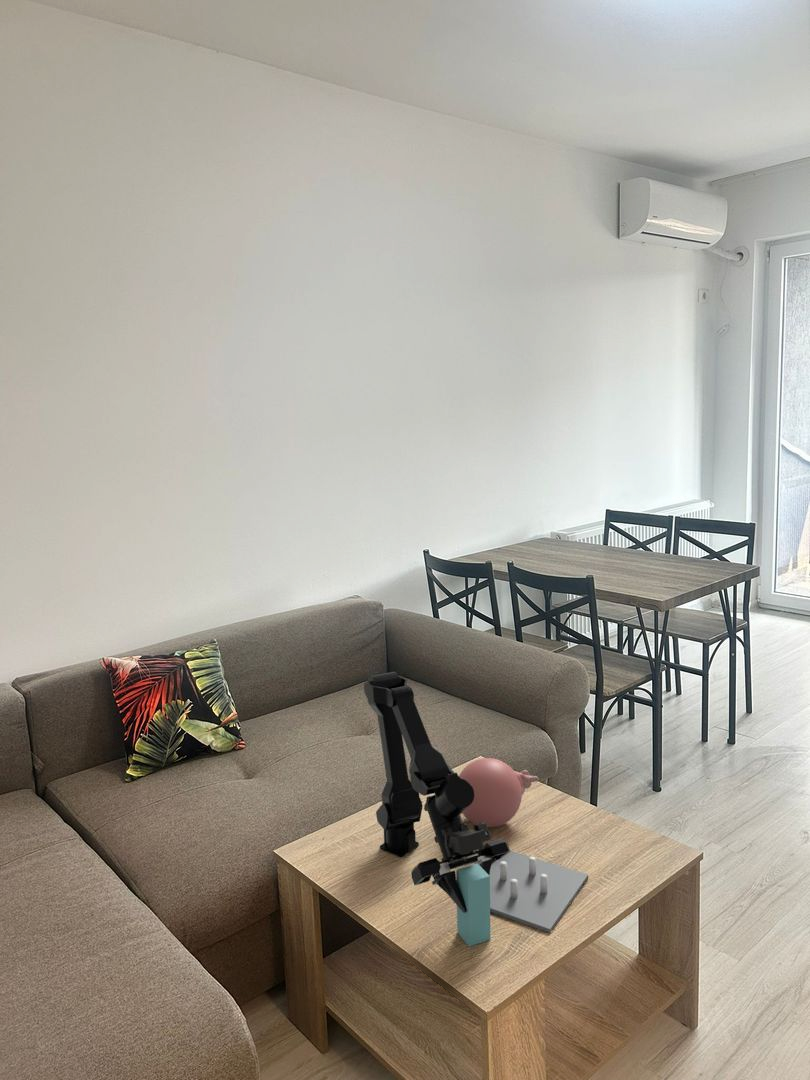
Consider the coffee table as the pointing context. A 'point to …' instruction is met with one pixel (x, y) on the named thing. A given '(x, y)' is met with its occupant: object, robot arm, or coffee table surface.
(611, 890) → the coffee table surface
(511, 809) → the balloon
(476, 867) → the teal block
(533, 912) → the peg plate
